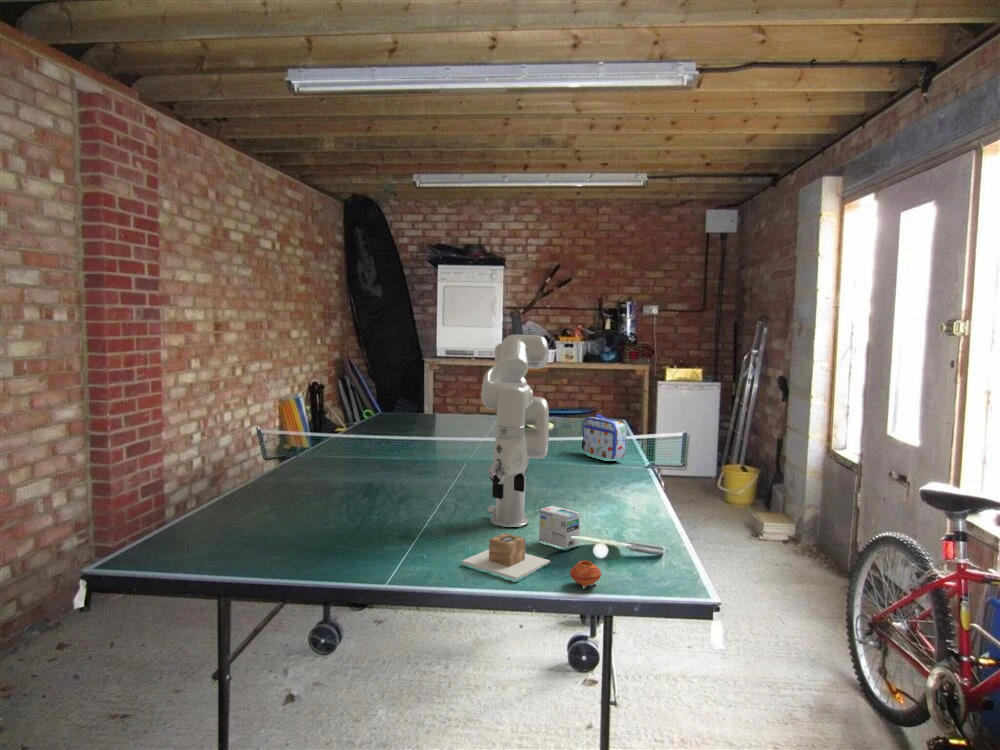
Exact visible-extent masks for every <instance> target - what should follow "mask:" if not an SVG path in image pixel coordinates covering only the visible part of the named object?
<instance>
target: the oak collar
mask: <svg viewBox="0 0 1000 750" xmlns="http://www.w3.org/2000/svg"><path fill="white" fill-rule="evenodd" d="M507 537H510V538H513V540H511V541H509V542H504V541H501V540H502V539H504V538H507ZM488 547H489V548H488V550H489V561H491V562H494V563H498V564H501V565H504V566H508V567H511V566H513V565H515V564H517V563H519V562H521V561H524V560H525V553H526V538H525V537H521V536H516V535H512V534H509V533H506V532H503V533H502V534H499V535H497V536H494V537H492V538H489V544H488Z"/></svg>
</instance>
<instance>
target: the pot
mask: <svg viewBox="0 0 1000 750" xmlns="http://www.w3.org/2000/svg"><path fill="white" fill-rule="evenodd" d="M569 576H570V577H571V579H572V580H573V581H574V580H575V581H576V582H577V584H580V585H581V587H582V586H584V587H585V586H586V587H587V586H589V585H593V584H594V583H595V582H596V581H598V582H599V580H600V579H601V577H602V572H601V570H600V568H599V567H598V566H596V565H595V564H593V562H592V561H589V560H580V561H578V563H577V564H576V565H574V566H573V567H572V568H571V569H570V571H569Z"/></svg>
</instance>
